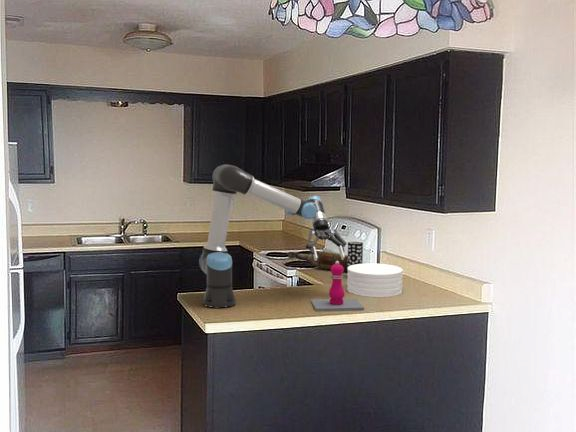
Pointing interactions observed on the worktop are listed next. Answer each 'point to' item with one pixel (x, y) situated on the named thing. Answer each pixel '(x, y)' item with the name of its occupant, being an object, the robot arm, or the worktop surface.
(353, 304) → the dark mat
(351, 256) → the white-spotted black cylinder
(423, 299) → the worktop surface
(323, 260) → the decorative bottle
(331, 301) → the pepper mill
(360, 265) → the plate stack
